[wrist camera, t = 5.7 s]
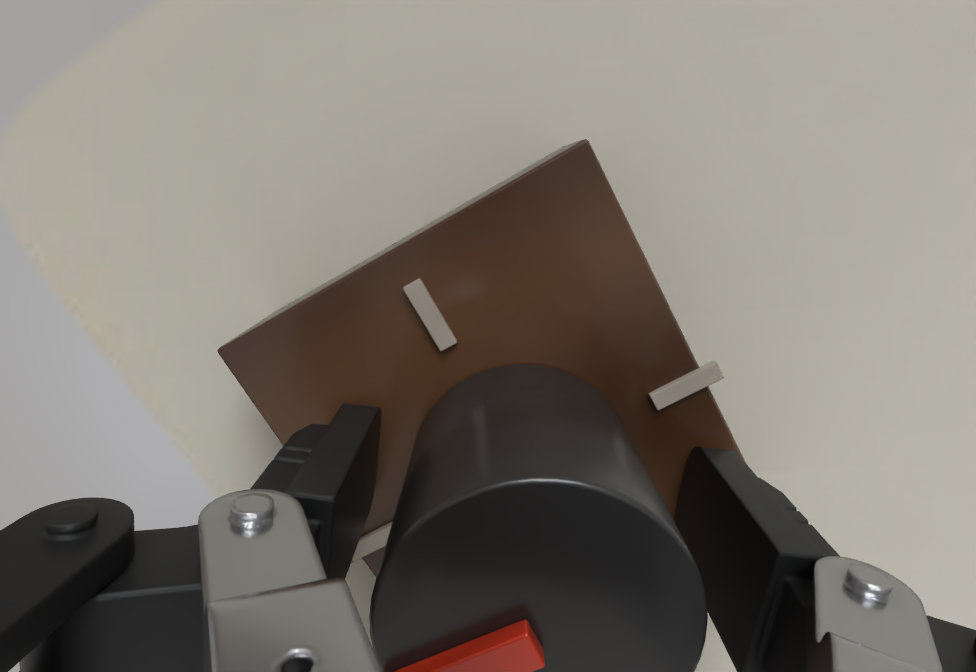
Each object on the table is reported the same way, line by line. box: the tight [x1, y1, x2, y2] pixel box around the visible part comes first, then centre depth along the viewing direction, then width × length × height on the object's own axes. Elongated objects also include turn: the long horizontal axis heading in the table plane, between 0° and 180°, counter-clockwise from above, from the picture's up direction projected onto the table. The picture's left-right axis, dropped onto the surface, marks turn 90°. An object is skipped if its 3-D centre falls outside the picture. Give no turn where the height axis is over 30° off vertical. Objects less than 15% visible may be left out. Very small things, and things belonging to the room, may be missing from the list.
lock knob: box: [369, 364, 708, 672], centre depth 10 cm, size 4×4×5 cm
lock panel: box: [218, 139, 746, 578], centre depth 13 cm, size 10×9×3 cm
